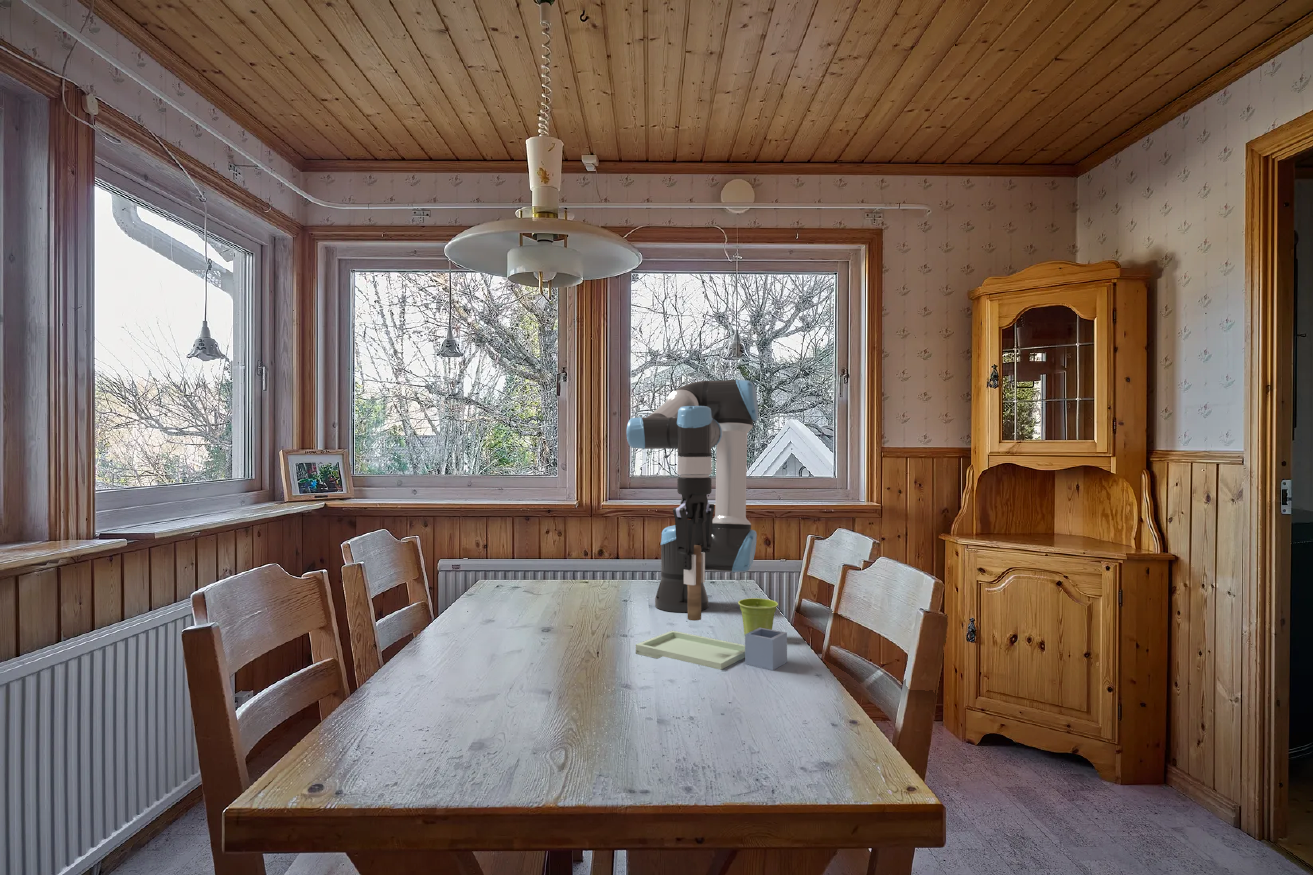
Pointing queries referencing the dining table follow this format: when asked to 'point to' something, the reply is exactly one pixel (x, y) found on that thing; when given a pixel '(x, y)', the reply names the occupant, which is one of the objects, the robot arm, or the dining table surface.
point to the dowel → (695, 589)
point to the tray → (692, 649)
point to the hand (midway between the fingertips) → (694, 582)
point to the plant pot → (757, 613)
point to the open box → (766, 648)
